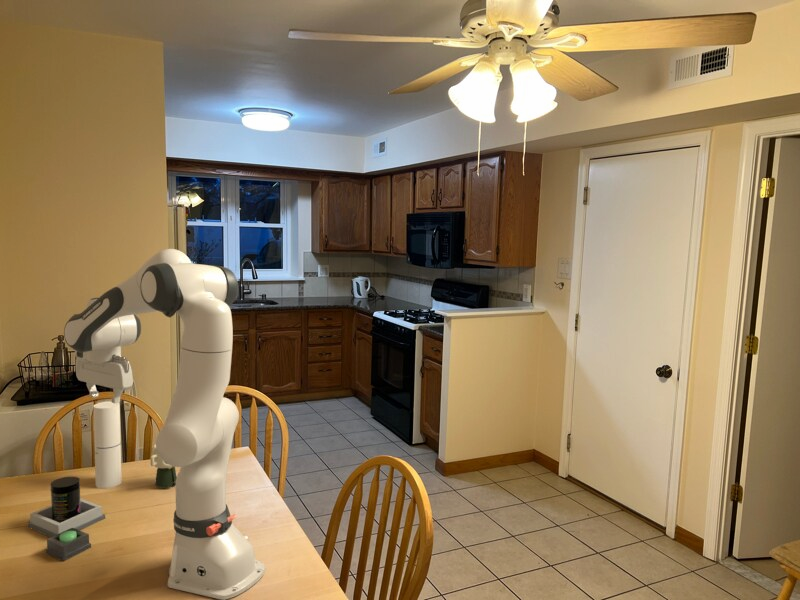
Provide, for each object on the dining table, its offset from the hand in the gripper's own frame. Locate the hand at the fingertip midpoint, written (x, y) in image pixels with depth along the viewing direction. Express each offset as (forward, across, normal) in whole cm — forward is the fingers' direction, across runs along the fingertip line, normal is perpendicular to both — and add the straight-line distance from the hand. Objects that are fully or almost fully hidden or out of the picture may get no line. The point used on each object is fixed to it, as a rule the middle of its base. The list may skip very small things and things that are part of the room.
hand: (104, 400), depth 164 cm
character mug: (+30, -8, -14) cm, 34 cm away
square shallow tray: (+29, -4, +15) cm, 33 cm away
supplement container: (+28, -4, +15) cm, 32 cm away
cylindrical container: (+30, +8, -6) cm, 31 cm away
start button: (+28, -17, +23) cm, 40 cm away
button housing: (+29, -17, +23) cm, 41 cm away
